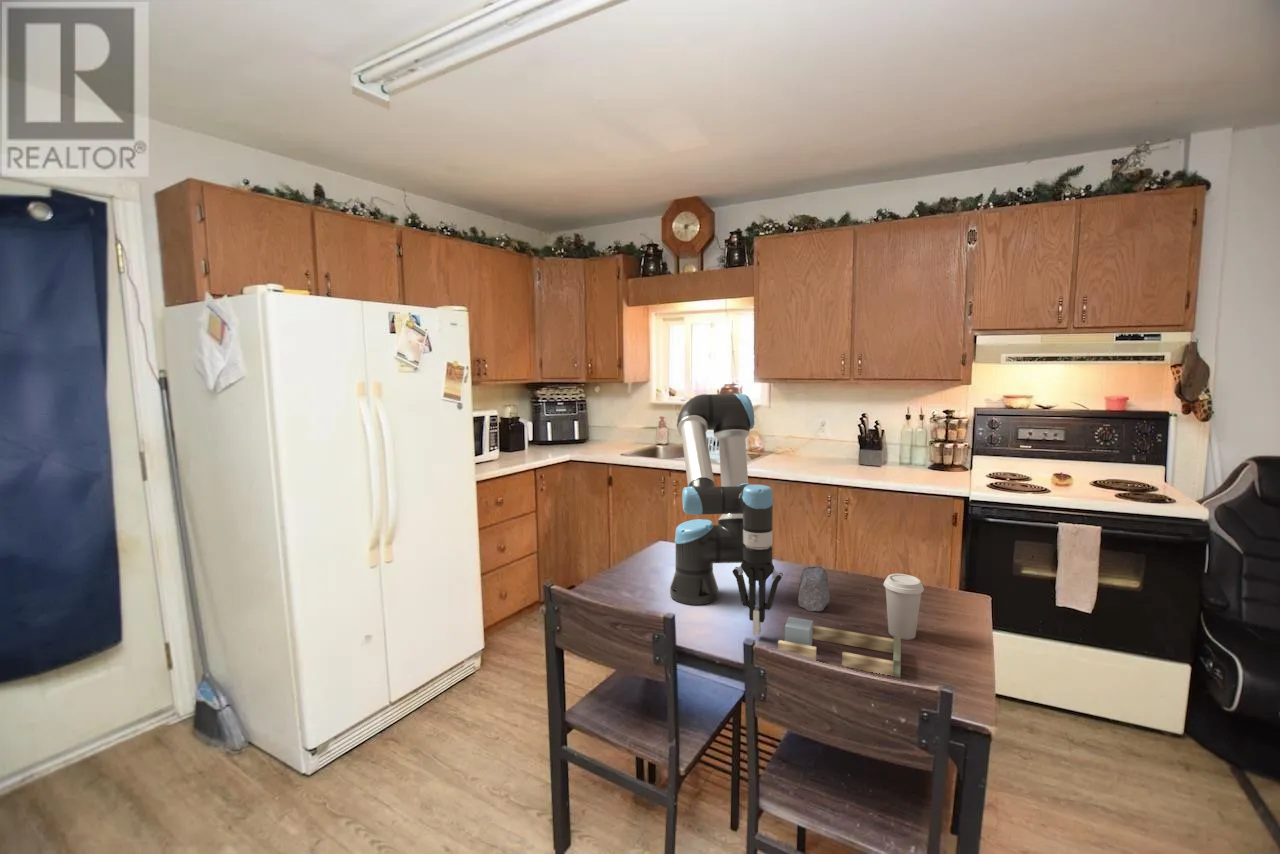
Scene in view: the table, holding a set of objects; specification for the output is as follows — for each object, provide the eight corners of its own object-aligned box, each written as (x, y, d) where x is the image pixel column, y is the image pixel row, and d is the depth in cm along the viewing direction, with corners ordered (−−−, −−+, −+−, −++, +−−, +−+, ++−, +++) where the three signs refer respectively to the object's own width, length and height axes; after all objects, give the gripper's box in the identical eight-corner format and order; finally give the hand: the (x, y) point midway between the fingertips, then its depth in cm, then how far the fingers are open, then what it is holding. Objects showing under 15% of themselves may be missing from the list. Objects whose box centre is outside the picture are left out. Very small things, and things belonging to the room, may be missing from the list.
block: (784, 649, 141) (784, 626, 140) (788, 638, 146) (788, 616, 146) (809, 653, 138) (809, 630, 138) (812, 642, 144) (812, 620, 143)
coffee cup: (875, 626, 152) (876, 573, 151) (908, 624, 153) (910, 571, 151) (894, 643, 143) (896, 586, 141) (929, 641, 143) (931, 585, 142)
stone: (804, 601, 173) (836, 597, 168) (799, 620, 165) (832, 616, 160) (791, 567, 172) (823, 562, 167) (785, 584, 163) (819, 579, 158)
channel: (777, 654, 138) (777, 638, 138) (787, 631, 150) (787, 617, 149) (900, 678, 127) (900, 661, 126) (899, 651, 138) (900, 636, 138)
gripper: (729, 546, 144) (729, 634, 146) (780, 552, 138) (779, 643, 140) (736, 538, 150) (736, 622, 153) (785, 544, 145) (784, 631, 147)
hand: (757, 632), depth 147 cm, fingers closed
